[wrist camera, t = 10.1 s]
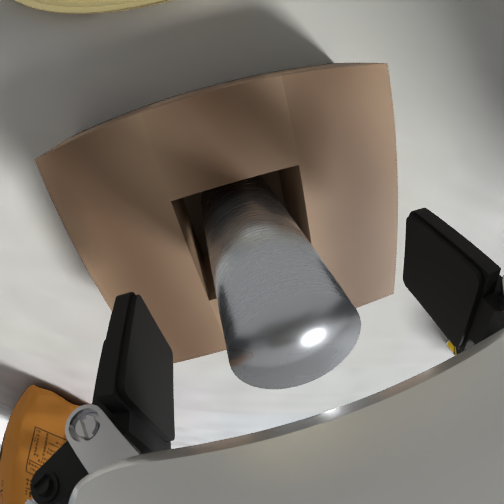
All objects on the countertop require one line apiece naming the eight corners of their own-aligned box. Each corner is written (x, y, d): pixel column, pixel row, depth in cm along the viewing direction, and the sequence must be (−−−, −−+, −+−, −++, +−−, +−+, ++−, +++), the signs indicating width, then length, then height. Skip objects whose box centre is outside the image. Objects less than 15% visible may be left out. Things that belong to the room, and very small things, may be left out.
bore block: (334, 63, 14) (387, 63, 10) (355, 248, 21) (393, 293, 17) (75, 134, 14) (35, 159, 9) (153, 309, 20) (150, 368, 16)
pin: (261, 159, 15) (361, 274, 7) (275, 221, 17) (359, 363, 9) (191, 179, 15) (210, 323, 7) (211, 240, 17) (247, 401, 9)
